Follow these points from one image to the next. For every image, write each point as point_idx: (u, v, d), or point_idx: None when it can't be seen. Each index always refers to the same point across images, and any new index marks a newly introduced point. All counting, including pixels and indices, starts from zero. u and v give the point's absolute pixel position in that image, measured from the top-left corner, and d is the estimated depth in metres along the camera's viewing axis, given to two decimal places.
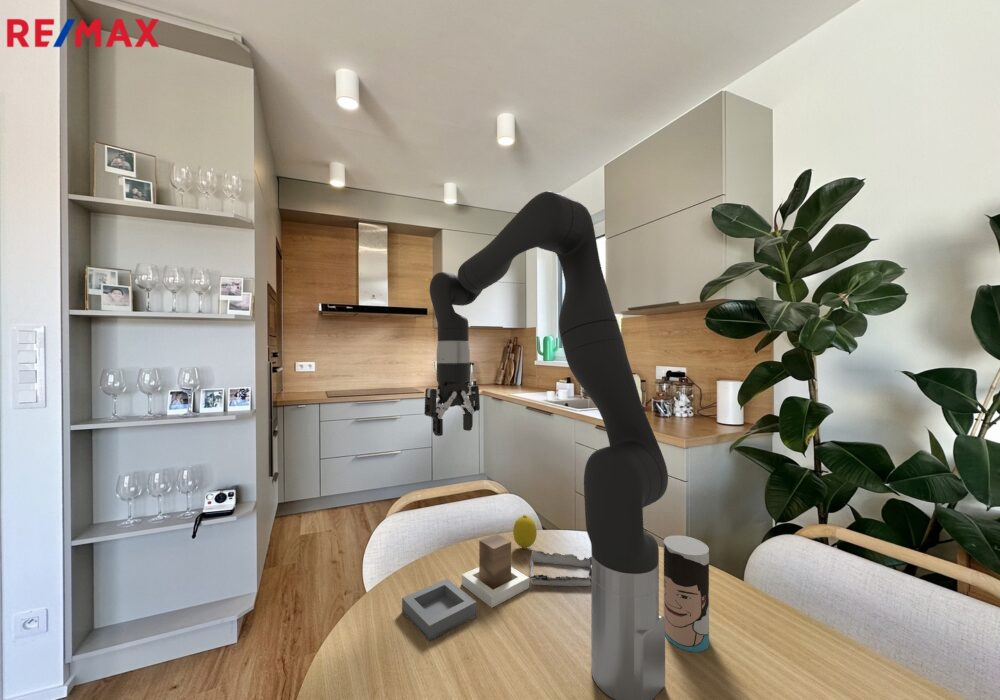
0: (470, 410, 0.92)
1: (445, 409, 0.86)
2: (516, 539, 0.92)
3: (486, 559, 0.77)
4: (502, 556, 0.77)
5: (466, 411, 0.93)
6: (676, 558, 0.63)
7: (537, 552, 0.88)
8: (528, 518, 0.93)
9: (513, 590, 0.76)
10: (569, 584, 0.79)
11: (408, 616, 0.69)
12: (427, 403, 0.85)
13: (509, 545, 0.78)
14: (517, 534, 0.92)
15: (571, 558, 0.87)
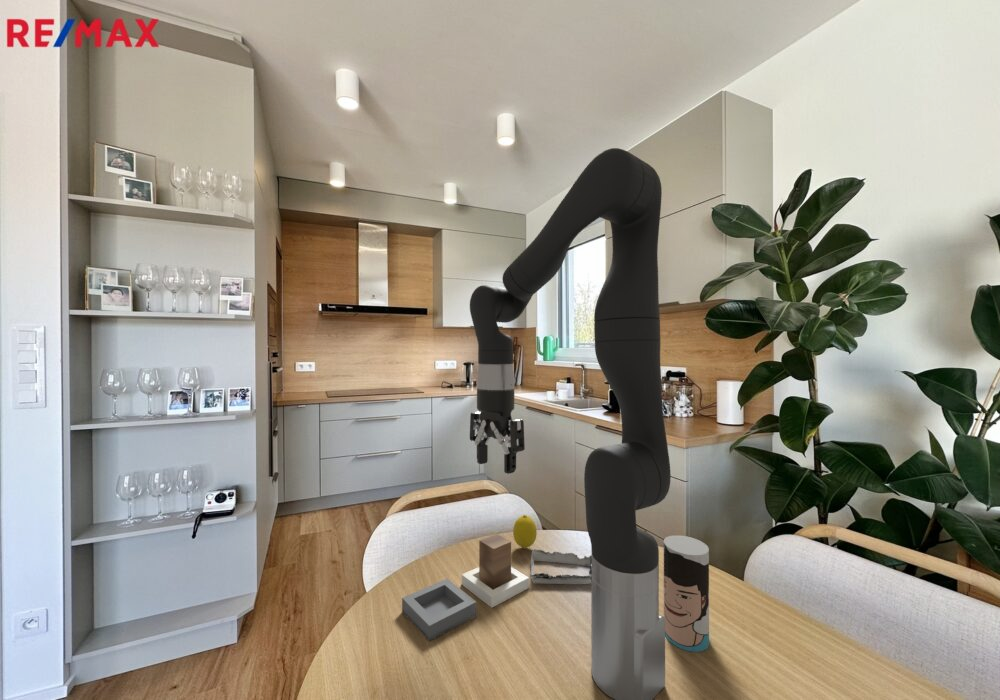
0: None
1: None
2: (516, 539, 0.92)
3: (486, 559, 0.77)
4: (502, 556, 0.77)
5: (482, 442, 0.82)
6: (676, 558, 0.63)
7: (537, 551, 0.89)
8: (528, 518, 0.93)
9: (513, 590, 0.76)
10: (570, 582, 0.80)
11: (408, 616, 0.69)
12: (518, 437, 0.73)
13: (509, 545, 0.78)
14: (518, 534, 0.92)
15: (572, 557, 0.87)
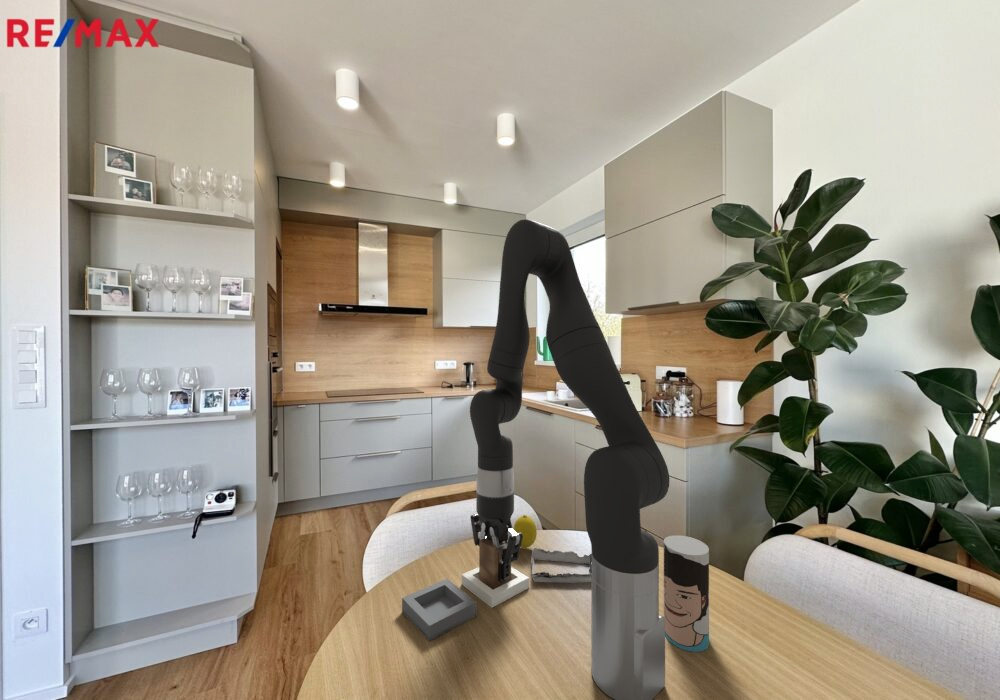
0: None
1: None
2: None
3: (486, 559, 0.77)
4: None
5: None
6: (676, 558, 0.63)
7: (538, 550, 0.89)
8: (528, 518, 0.93)
9: (513, 590, 0.76)
10: (570, 581, 0.80)
11: (408, 616, 0.69)
12: (514, 551, 0.74)
13: None
14: None
15: (572, 555, 0.88)
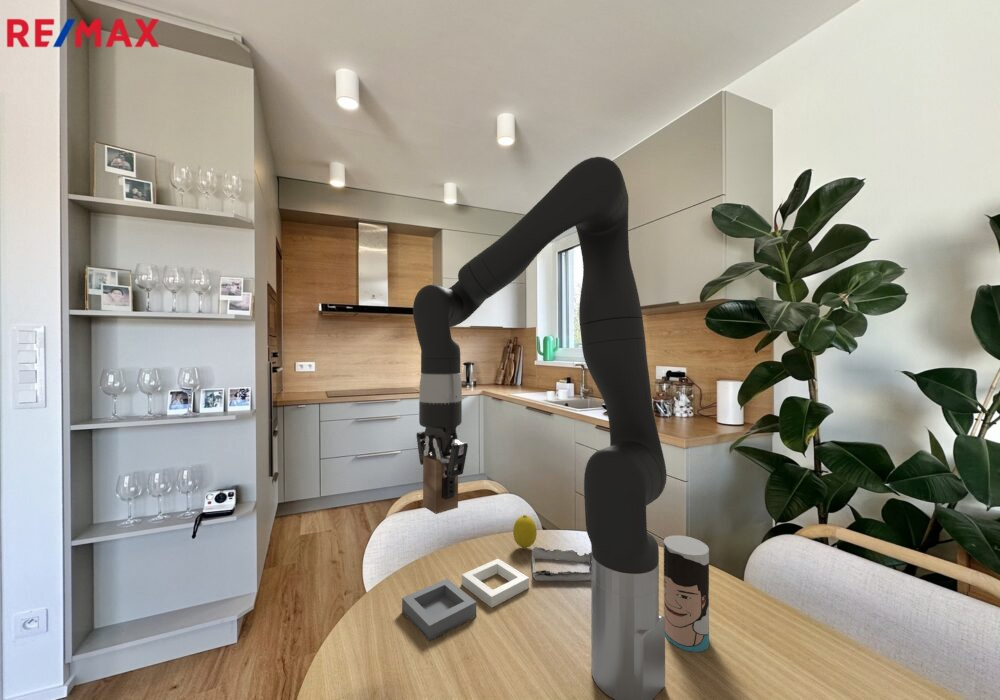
0: None
1: None
2: (516, 539, 0.92)
3: (429, 475, 0.69)
4: None
5: None
6: (676, 558, 0.63)
7: (538, 549, 0.90)
8: (528, 518, 0.93)
9: (513, 590, 0.76)
10: (571, 579, 0.81)
11: (408, 616, 0.69)
12: (457, 462, 0.66)
13: None
14: (518, 534, 0.92)
15: (572, 554, 0.89)
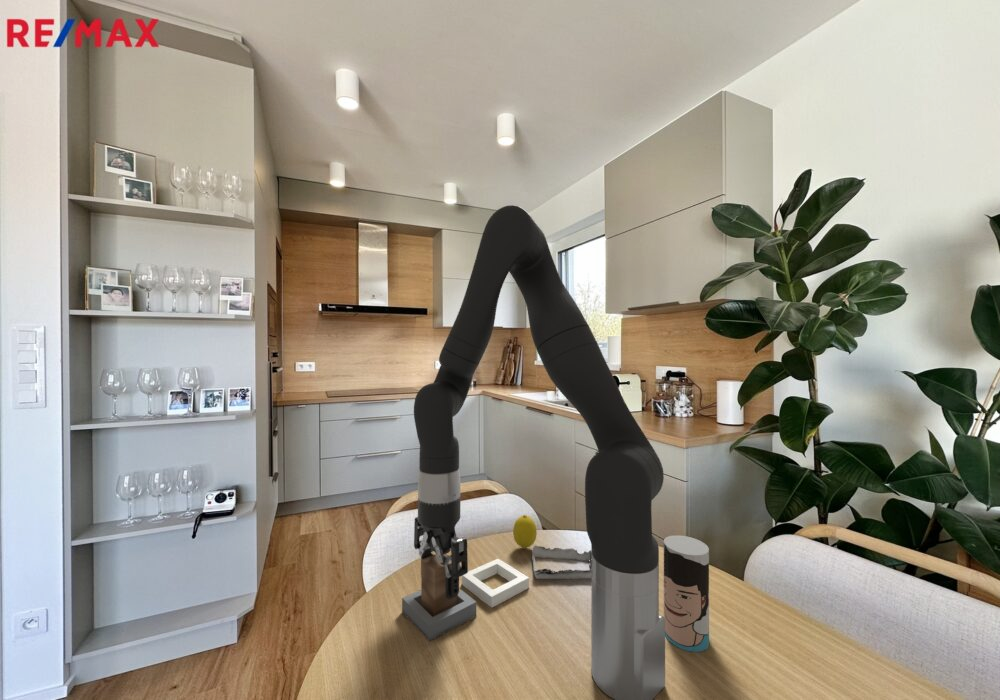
0: None
1: None
2: (516, 539, 0.92)
3: (427, 581, 0.69)
4: (445, 578, 0.69)
5: (427, 552, 0.73)
6: (676, 558, 0.63)
7: (538, 547, 0.90)
8: (528, 518, 0.93)
9: (513, 590, 0.76)
10: (572, 577, 0.81)
11: (408, 616, 0.69)
12: (460, 561, 0.65)
13: None
14: (518, 534, 0.92)
15: (572, 552, 0.89)
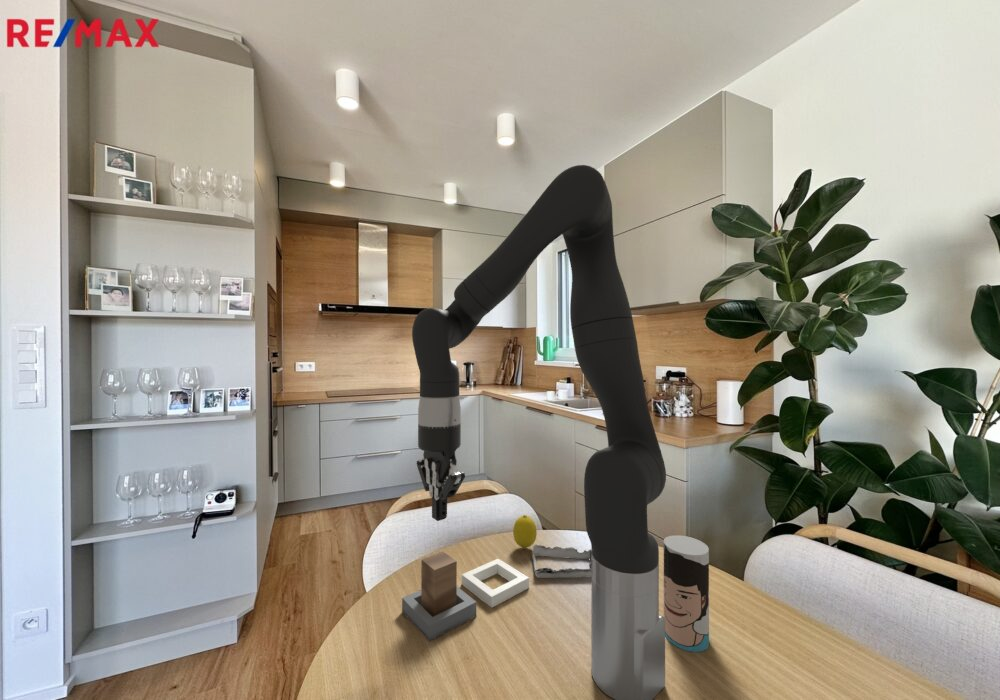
0: None
1: None
2: (516, 539, 0.92)
3: (427, 581, 0.69)
4: (445, 578, 0.69)
5: None
6: (676, 558, 0.63)
7: (538, 546, 0.91)
8: (528, 518, 0.93)
9: (513, 590, 0.76)
10: (572, 576, 0.82)
11: (408, 616, 0.69)
12: (451, 489, 0.67)
13: (454, 565, 0.70)
14: (518, 534, 0.92)
15: (572, 551, 0.90)
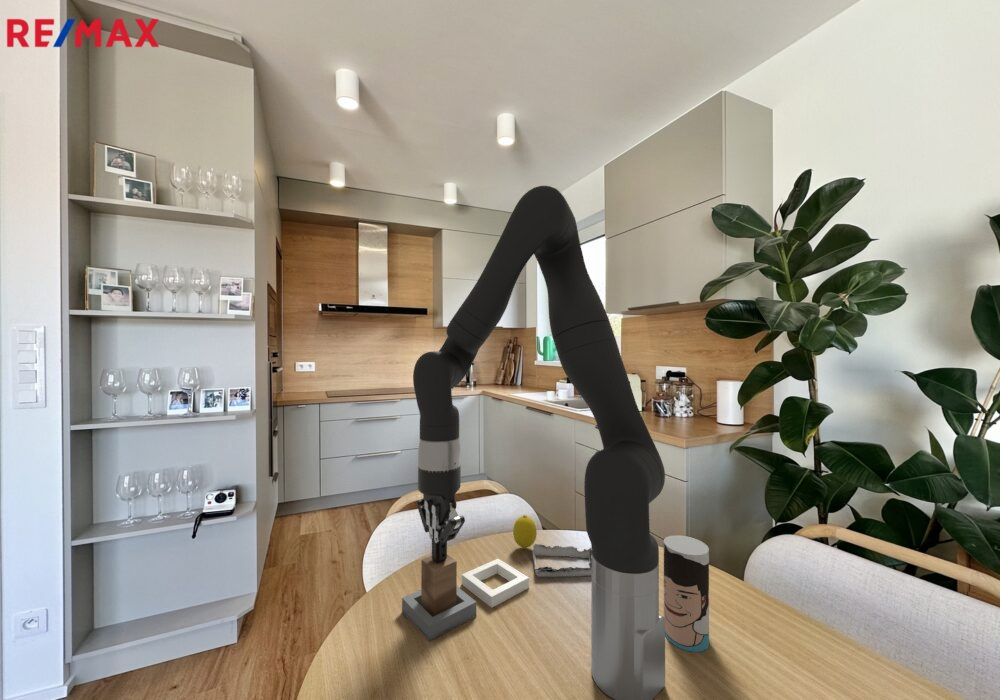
0: None
1: None
2: (516, 539, 0.92)
3: (427, 581, 0.69)
4: (445, 578, 0.69)
5: None
6: (676, 558, 0.63)
7: (538, 546, 0.91)
8: (528, 518, 0.93)
9: (513, 590, 0.76)
10: (572, 574, 0.82)
11: (408, 616, 0.69)
12: (451, 533, 0.67)
13: (454, 565, 0.70)
14: (518, 534, 0.92)
15: (572, 550, 0.90)
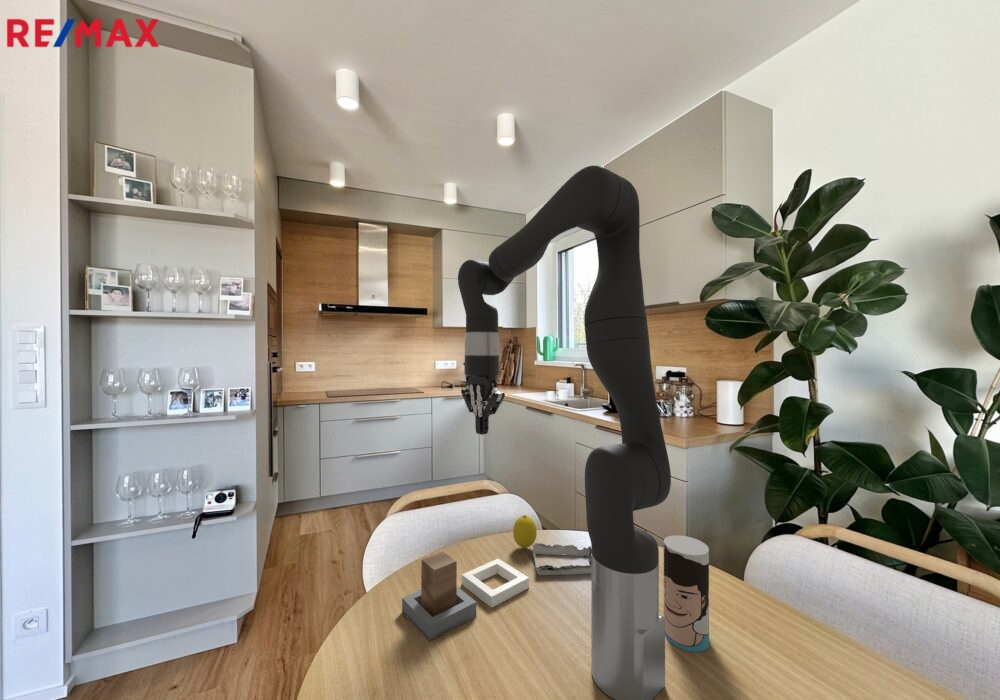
0: None
1: None
2: (516, 539, 0.92)
3: (427, 581, 0.69)
4: (445, 578, 0.69)
5: None
6: (676, 558, 0.63)
7: (538, 544, 0.92)
8: (528, 518, 0.93)
9: (513, 590, 0.76)
10: (573, 572, 0.83)
11: (408, 616, 0.69)
12: (493, 406, 0.82)
13: (454, 565, 0.70)
14: (517, 534, 0.92)
15: (571, 549, 0.91)
